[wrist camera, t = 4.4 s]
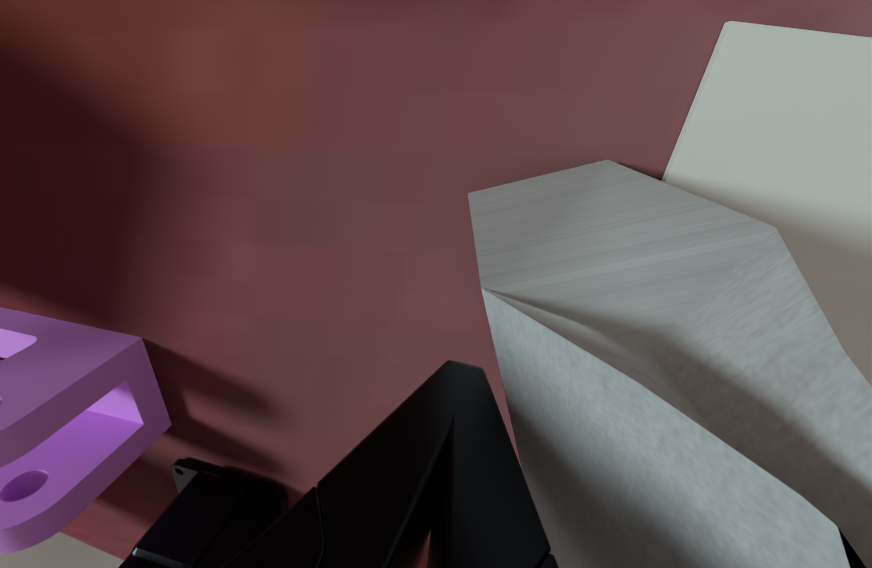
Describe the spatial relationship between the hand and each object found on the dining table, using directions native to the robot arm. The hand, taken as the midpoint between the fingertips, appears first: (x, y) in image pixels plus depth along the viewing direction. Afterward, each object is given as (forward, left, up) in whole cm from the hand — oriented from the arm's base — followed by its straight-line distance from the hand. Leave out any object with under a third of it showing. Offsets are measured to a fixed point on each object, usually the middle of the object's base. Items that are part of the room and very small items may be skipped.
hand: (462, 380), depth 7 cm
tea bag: (0, -2, -5) cm, 6 cm away
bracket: (-10, +21, -6) cm, 24 cm away
